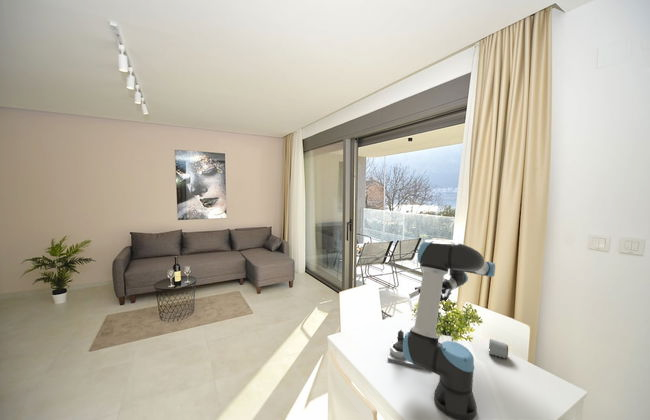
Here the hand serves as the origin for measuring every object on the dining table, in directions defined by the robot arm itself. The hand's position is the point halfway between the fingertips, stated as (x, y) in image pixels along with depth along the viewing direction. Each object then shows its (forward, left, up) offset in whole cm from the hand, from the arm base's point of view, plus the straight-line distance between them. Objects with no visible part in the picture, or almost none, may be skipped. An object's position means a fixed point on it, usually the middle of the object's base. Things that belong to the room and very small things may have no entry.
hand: (419, 299), depth 138 cm
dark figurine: (-7, +8, -27) cm, 29 cm away
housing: (-7, +3, -28) cm, 29 cm away
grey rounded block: (+15, -39, -29) cm, 50 cm away
